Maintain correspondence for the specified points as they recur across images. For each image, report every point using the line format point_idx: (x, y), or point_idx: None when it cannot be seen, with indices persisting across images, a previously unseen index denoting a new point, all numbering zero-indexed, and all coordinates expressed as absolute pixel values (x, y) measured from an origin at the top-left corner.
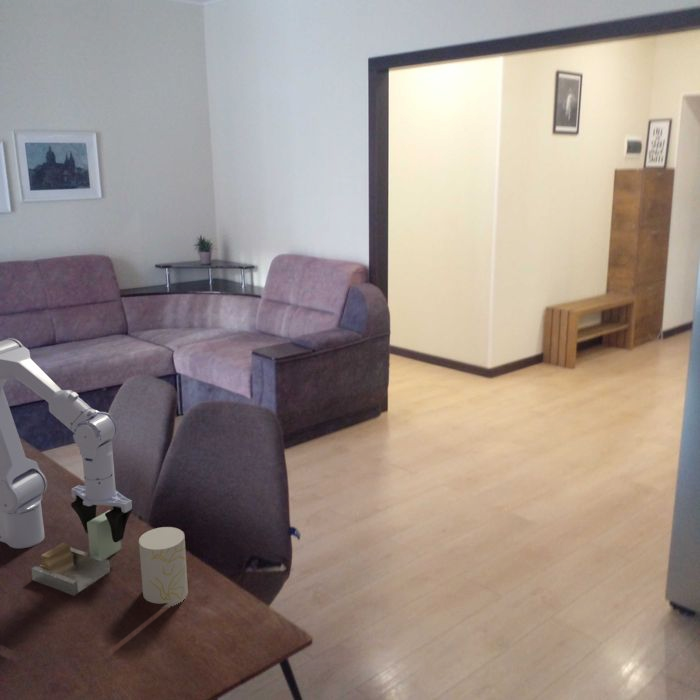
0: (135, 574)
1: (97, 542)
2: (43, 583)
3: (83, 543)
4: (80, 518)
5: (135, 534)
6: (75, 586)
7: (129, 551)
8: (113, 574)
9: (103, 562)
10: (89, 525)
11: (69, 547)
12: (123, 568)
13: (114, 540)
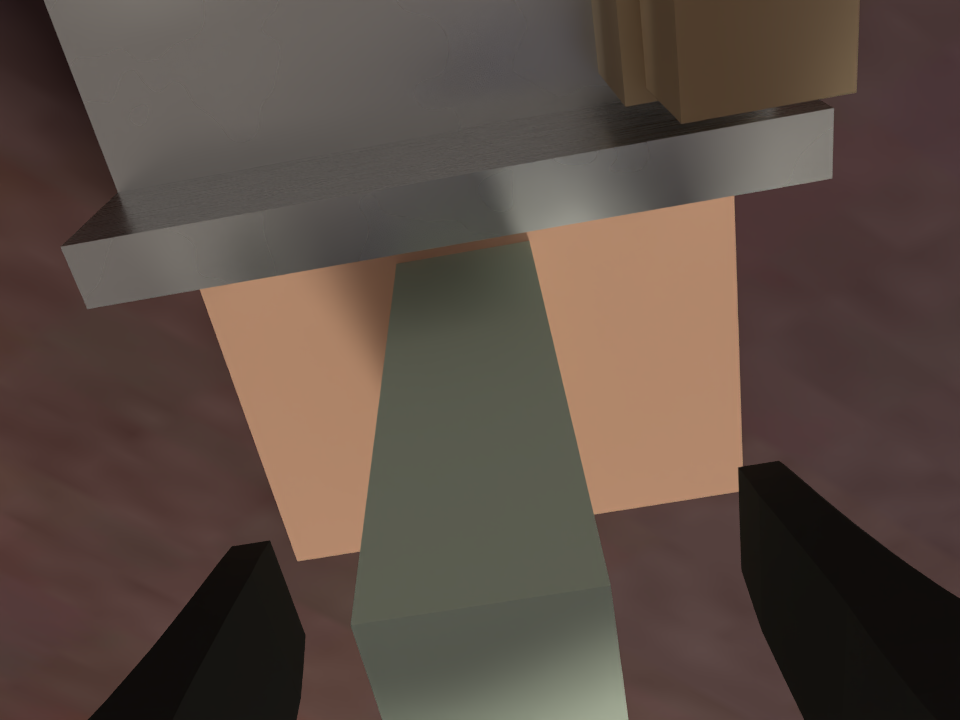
0: (13, 385)
1: (383, 412)
2: None
3: (918, 399)
4: (928, 595)
5: None
6: None
7: None
8: None
9: (95, 238)
10: (535, 559)
11: (671, 99)
12: (198, 378)
13: (234, 559)
